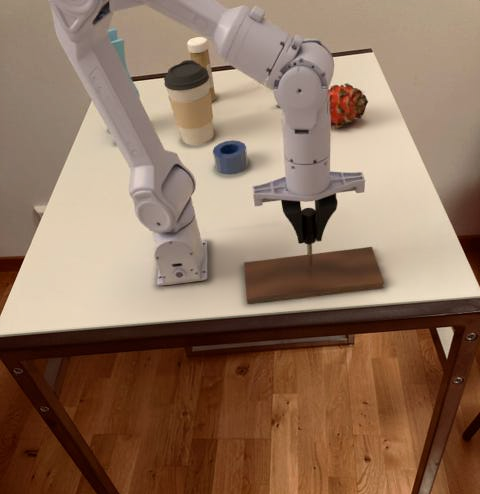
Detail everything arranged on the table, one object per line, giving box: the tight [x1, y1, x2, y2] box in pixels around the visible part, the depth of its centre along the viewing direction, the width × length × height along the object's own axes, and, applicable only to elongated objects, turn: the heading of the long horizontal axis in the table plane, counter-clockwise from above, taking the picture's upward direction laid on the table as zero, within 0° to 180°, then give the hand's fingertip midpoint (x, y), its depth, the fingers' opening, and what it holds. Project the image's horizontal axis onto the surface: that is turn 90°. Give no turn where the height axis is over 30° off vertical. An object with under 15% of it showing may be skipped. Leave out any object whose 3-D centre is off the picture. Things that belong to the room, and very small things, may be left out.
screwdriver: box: [301, 207, 317, 266], centre depth 73 cm, size 2×2×9 cm
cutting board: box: [243, 246, 385, 305], centre depth 77 cm, size 8×20×1 cm, turn 93°
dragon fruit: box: [328, 82, 369, 129], centre depth 105 cm, size 8×8×12 cm
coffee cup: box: [163, 59, 215, 145], centre depth 105 cm, size 9×9×15 cm
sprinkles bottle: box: [186, 36, 217, 103], centre depth 117 cm, size 5×5×14 cm
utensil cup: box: [212, 139, 249, 175], centre depth 99 cm, size 6×6×4 cm
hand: (309, 238), depth 73 cm, fingers closed on screwdriver, 2 cm apart
